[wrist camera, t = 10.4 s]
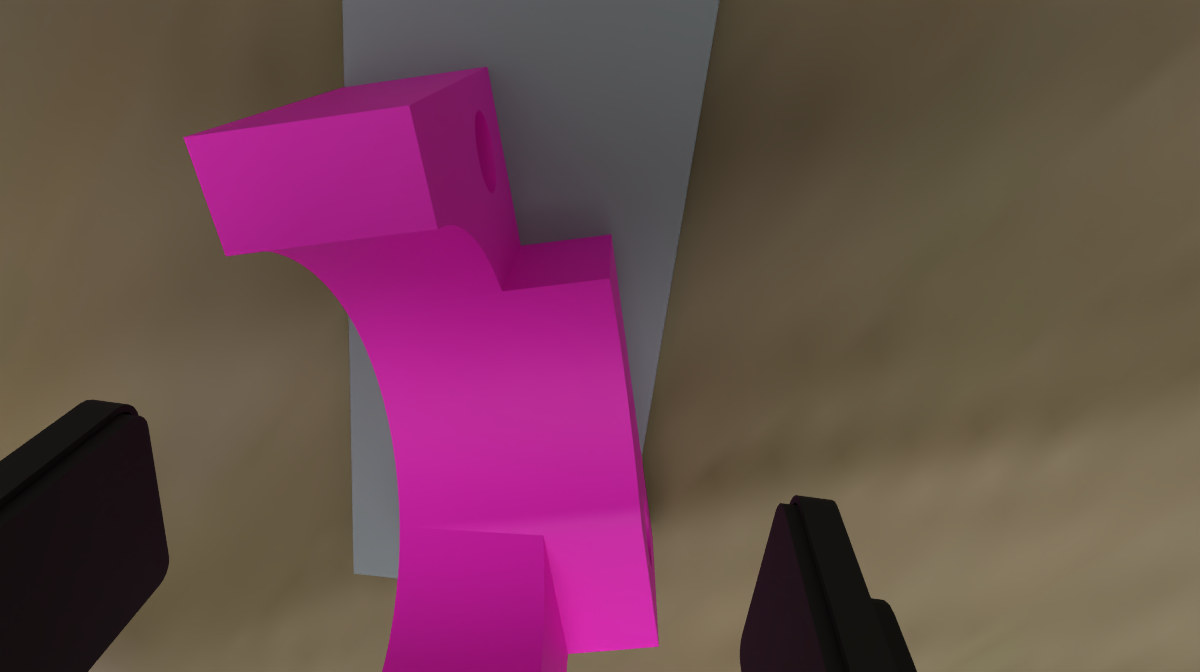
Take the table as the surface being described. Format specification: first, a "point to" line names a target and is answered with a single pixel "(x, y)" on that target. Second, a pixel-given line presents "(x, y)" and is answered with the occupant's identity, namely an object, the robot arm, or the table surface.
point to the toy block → (463, 366)
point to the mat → (548, 164)
